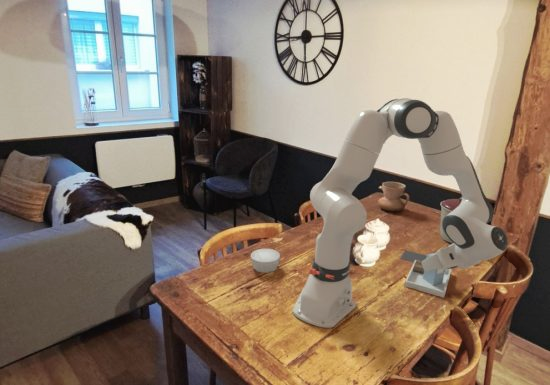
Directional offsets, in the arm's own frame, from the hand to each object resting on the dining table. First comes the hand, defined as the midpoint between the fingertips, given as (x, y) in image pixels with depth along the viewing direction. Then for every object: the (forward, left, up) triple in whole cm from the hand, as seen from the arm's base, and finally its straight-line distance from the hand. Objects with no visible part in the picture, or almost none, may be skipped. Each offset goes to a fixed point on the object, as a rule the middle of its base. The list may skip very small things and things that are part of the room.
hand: (435, 266), depth 135 cm
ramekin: (-24, +57, -7) cm, 63 cm away
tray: (0, +1, -7) cm, 7 cm away
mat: (+15, +9, -7) cm, 19 cm away
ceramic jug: (+67, +31, -7) cm, 74 cm away
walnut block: (+6, +5, -6) cm, 10 cm away
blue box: (0, 0, -6) cm, 6 cm away
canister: (+44, -4, -7) cm, 45 cm away
